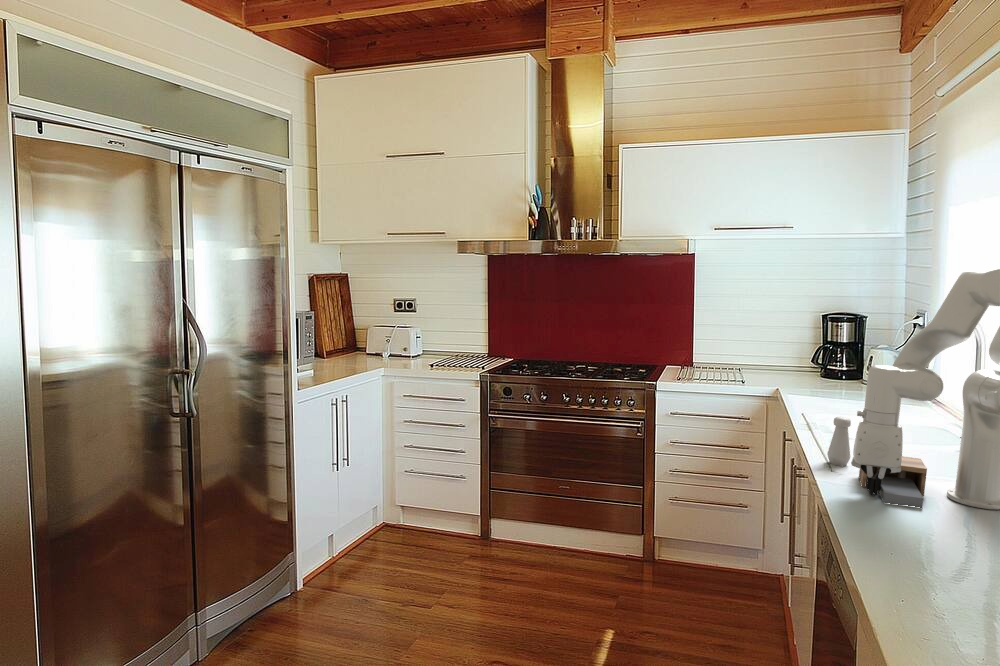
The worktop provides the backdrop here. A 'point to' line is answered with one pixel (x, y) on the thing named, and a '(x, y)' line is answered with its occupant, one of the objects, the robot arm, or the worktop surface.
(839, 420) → the salt shaker
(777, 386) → the worktop surface
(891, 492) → the board
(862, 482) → the open wooden box
